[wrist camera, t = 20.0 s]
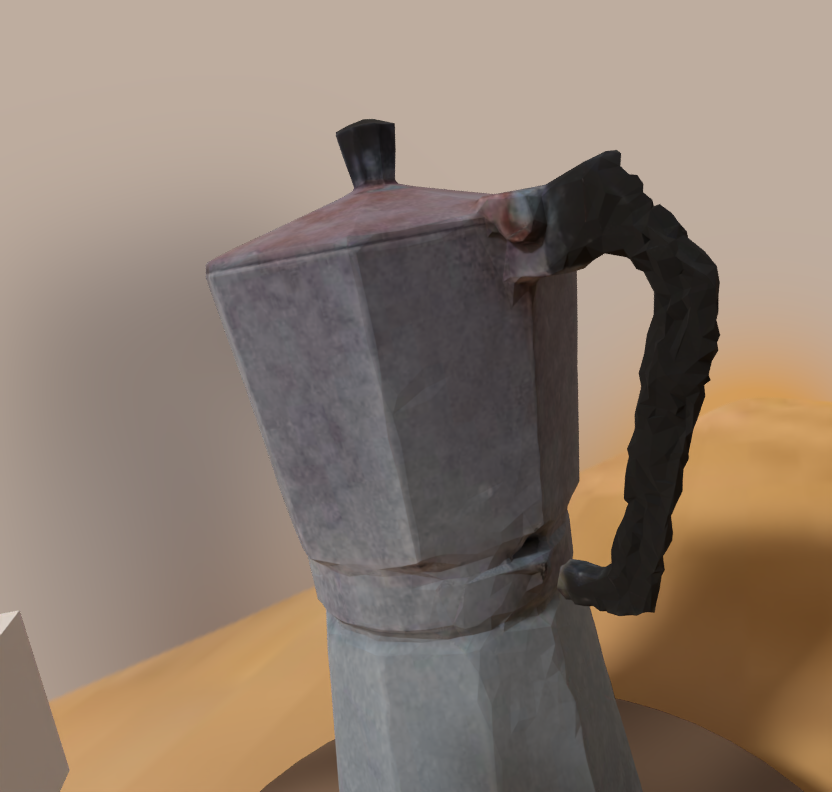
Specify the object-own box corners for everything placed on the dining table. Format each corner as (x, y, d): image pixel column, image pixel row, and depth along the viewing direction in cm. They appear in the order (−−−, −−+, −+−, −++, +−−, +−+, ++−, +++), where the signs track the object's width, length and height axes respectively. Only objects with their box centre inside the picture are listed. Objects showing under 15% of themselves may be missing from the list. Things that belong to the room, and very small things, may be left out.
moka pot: (433, 654, 31) (351, 147, 26) (845, 845, 20) (835, 25, 15) (230, 798, 25) (74, 170, 20) (662, 1188, 14) (544, -7, 9)
